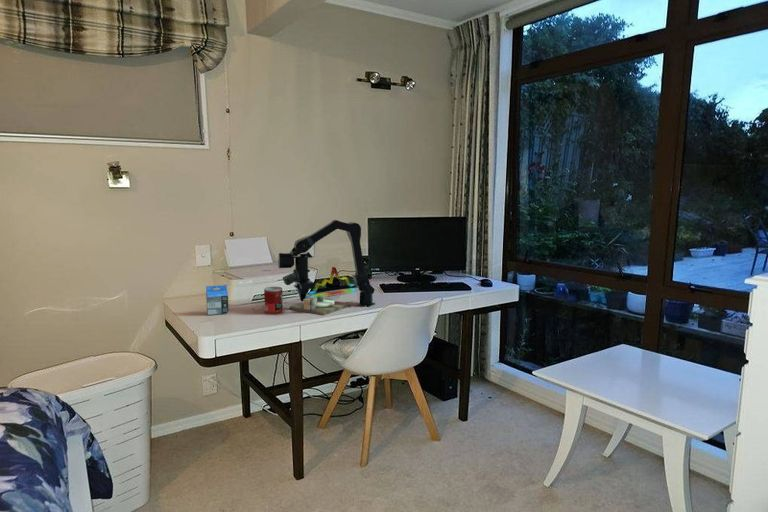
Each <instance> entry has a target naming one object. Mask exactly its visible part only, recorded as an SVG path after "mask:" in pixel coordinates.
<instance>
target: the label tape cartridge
mask: <svg viewBox="0 0 768 512" xmlns="http://www.w3.org/2000/svg"><path fill="white" fill-rule="evenodd" d="M227 286H228V285H227V284H224V285H221V284H220V285H208V286H207V285H206V287H205V290H206V291H205V295H206V298H205V300H206V301H205V302H206V315H207V316H214V315H228V314H229V310H230V309H229V294H228V288H227ZM216 288H217V289H216Z"/></svg>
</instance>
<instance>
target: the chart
mask: <svg viewBox="0 0 768 512" xmlns="http://www.w3.org/2000/svg"><path fill="white" fill-rule="evenodd" d="M339 275H340V274H339V273H338V270H337V267H336V266H332V268H331V272H330V276H329V279H326V278H324V280H323V281H322V282H321V283H318V282H316V283H315V289H312V291H308V293H307V294H310V295H306V297H305V299H306V298H309V297H319V296H322V297H323V298H330V297H336V296H340V295H346V294H350V293H351V294H352V293H356V289H355V288H352V287H353V286H355V284H354V283H350V281H349V279H348V277H346V276H343V277H340V276H339ZM334 276H335V277H334ZM334 278H336V279H339V280H343V281H344V280H345V283H346V284H347V286H348V287H349V288H346V289H339V290H335V291H328V292H320V293H316V292H317V290H318V288H319V287H320V286H321V287H325V286H326V284H327V283H328V284H333V280H334Z"/></svg>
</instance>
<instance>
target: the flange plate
mask: <svg viewBox="0 0 768 512" xmlns="http://www.w3.org/2000/svg"><path fill="white" fill-rule="evenodd" d="M311 299H316V308H322V307H330V306H333V305H334V301H335V300H334V299H332V298H329V297H325V298H323V297H322V296H319V297H309V298H306V299H303V301H302V303H303V302H304V309H308V310H310V309H311Z"/></svg>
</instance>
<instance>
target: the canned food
mask: <svg viewBox="0 0 768 512" xmlns="http://www.w3.org/2000/svg"><path fill="white" fill-rule="evenodd" d="M263 290H264V291H263V295H264V312H265V314H267V315H279V314H282V313H283V309H284V308H283V307H284V306H283V305H284V304H283V302H284V301H283V300H284V299H283V287H281V286H267V287H264V289H263Z"/></svg>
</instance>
